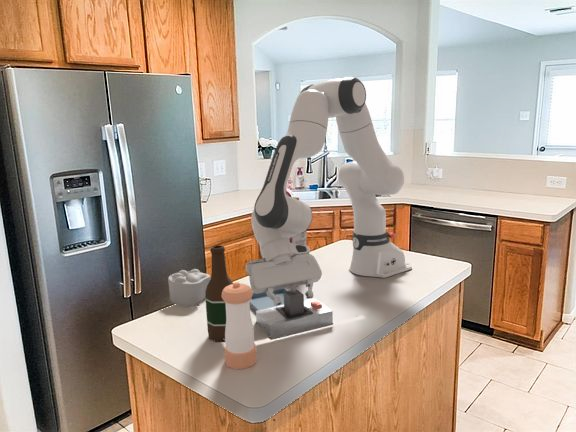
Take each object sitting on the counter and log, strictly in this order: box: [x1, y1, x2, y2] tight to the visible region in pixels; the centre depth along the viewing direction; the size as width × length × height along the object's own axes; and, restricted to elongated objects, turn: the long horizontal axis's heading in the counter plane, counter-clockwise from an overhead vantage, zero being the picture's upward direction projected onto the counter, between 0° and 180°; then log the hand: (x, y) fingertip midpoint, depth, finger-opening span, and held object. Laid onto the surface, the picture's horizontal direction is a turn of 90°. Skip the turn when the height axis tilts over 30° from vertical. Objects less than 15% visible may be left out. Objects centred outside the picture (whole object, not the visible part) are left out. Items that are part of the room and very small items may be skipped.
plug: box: [284, 284, 305, 316], centre depth 123 cm, size 4×4×10 cm
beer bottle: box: [204, 244, 234, 343], centre depth 116 cm, size 8×8×24 cm
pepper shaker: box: [221, 281, 257, 370], centre depth 104 cm, size 7×7×19 cm
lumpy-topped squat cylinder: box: [167, 268, 211, 307], centre depth 144 cm, size 10×13×9 cm
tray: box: [250, 288, 291, 313], centre depth 137 cm, size 14×14×2 cm
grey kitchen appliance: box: [255, 297, 334, 341], centre depth 123 cm, size 18×10×5 cm, turn 115°
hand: (294, 301), depth 122 cm, fingers open, 8 cm apart
